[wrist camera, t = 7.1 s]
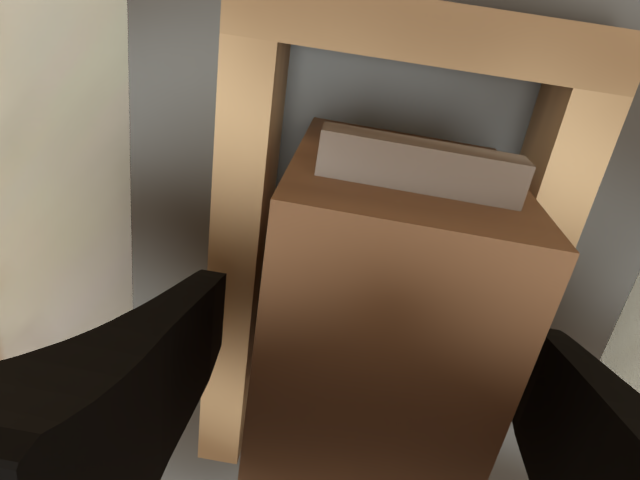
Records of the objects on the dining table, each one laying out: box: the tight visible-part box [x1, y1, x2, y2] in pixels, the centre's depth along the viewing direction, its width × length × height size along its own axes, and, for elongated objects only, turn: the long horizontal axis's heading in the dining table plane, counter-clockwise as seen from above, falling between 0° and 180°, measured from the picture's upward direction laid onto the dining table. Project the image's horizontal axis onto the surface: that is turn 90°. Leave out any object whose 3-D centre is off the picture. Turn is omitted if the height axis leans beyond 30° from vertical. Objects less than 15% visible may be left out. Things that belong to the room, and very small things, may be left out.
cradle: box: [127, 0, 640, 480], centre depth 14 cm, size 20×14×3 cm
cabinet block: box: [238, 117, 580, 480], centre depth 12 cm, size 9×5×6 cm, turn 172°
